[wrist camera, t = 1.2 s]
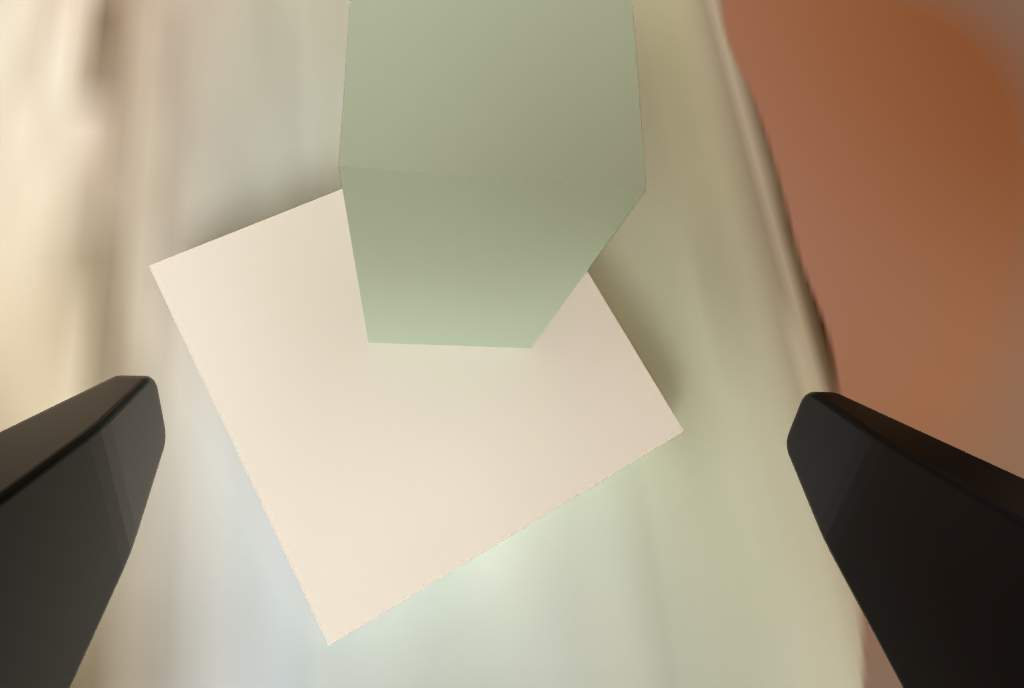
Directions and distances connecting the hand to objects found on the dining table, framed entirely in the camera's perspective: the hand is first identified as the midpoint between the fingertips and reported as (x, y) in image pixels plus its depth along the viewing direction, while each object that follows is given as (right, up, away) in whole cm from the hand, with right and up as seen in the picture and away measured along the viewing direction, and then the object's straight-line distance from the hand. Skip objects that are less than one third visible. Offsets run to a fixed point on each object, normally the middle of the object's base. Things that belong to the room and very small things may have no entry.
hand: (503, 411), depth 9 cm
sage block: (-2, +3, +12) cm, 12 cm away
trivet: (-3, 0, +13) cm, 13 cm away
